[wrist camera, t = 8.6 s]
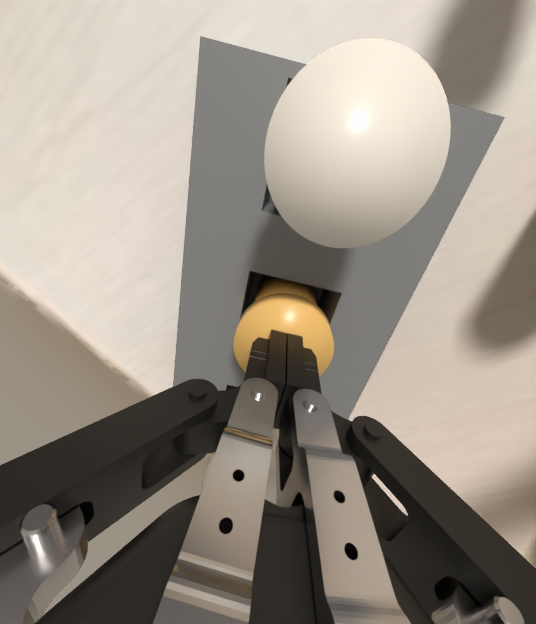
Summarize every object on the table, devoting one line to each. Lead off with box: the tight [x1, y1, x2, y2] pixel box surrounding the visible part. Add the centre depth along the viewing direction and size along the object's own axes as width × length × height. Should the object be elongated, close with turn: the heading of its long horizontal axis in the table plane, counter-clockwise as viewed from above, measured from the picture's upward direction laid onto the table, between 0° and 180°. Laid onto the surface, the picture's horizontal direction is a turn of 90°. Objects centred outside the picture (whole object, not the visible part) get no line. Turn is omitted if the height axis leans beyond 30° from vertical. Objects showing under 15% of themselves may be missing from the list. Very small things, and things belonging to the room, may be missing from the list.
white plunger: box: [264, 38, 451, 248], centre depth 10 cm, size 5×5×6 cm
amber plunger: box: [233, 275, 334, 376], centre depth 16 cm, size 5×5×6 cm
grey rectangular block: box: [173, 36, 504, 420], centre depth 17 cm, size 12×22×5 cm, turn 167°
